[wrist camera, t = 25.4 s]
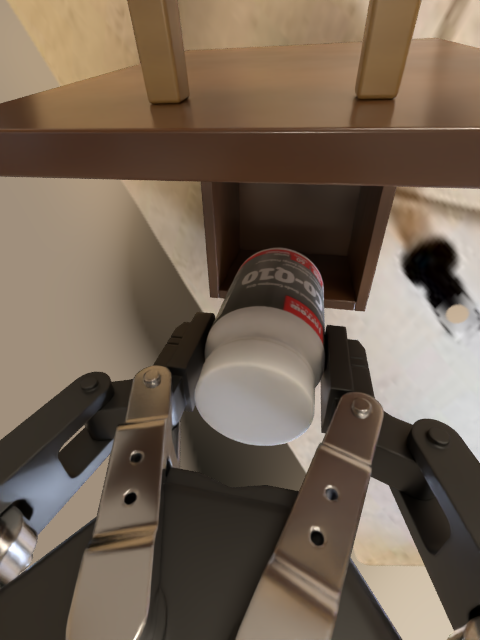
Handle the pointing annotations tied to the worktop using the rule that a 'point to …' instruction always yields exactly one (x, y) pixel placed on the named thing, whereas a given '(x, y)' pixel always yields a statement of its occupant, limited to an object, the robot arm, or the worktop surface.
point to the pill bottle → (265, 351)
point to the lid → (262, 111)
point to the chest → (298, 232)
